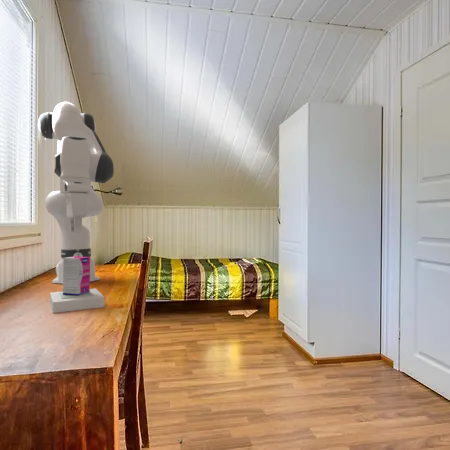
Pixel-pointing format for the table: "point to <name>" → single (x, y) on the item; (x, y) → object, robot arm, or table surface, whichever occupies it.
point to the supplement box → (76, 275)
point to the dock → (76, 301)
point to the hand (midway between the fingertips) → (75, 232)
